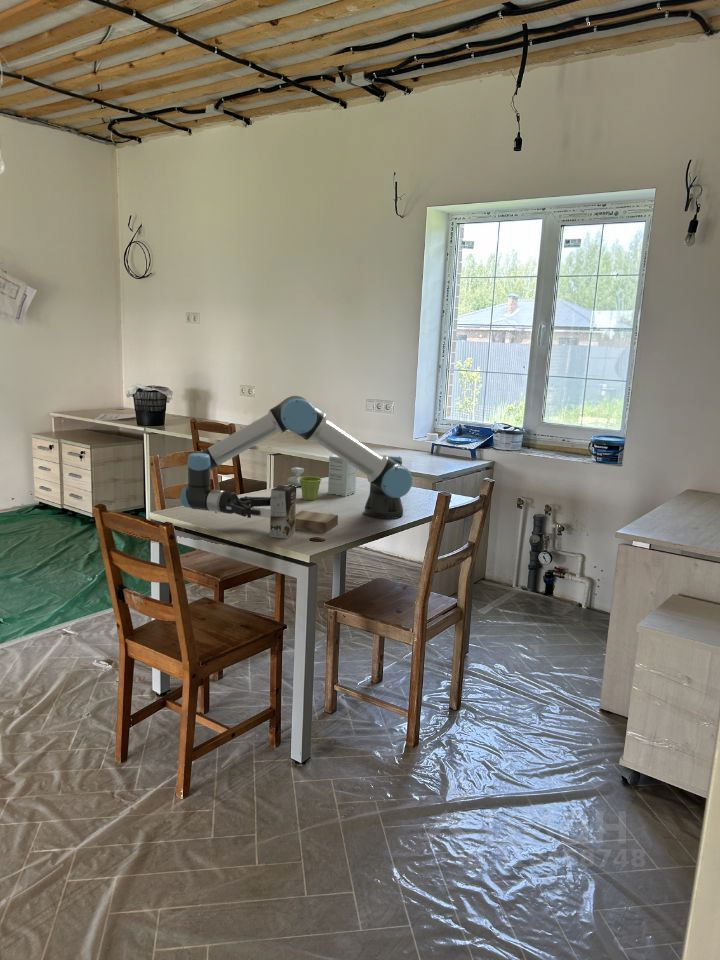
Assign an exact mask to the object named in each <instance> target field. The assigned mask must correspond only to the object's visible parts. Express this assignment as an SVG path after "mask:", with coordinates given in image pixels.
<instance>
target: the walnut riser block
mask: <svg viewBox="0 0 720 960" xmlns="http://www.w3.org/2000/svg"><path fill="white" fill-rule="evenodd" d="M336 525H337V526H338V525H339V515H338V514H333V513H325V512H324V513H323V512H318V511H317V512H315V511H308V510H301V511H298V512H297V513H296V516H295V530H301V531H311V532H317V533H324V534H325V533H326V534H327V533H328V532H329V531H331V530H333V529H334V528H335V527H337V526H336Z"/></svg>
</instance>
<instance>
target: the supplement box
mask: <svg viewBox="0 0 720 960" xmlns="http://www.w3.org/2000/svg"><path fill="white" fill-rule="evenodd" d="M328 459H329V460H328V482H327V483H328V485H327V486H328V487H327V494H328V493H329V494H328V495H332V494H336V495H335V496H338V495H343V496H342V497H344V496H347V495H349V496H351V495H350V494H352V493H354V494H356V489H357V488H356V486H357V484H356V483H357V470H358V469H356V468H355V467H353V466H352V465H350V464H349V463H347V462H346V461H344V460H343V459H341V458H340V457H338V456H337V455H335V454H333V455H329V458H328ZM352 495H353V494H352ZM347 497H348V496H347Z"/></svg>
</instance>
